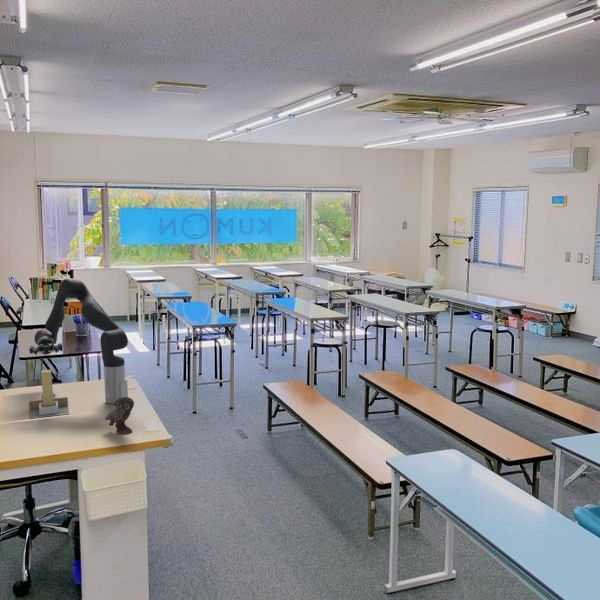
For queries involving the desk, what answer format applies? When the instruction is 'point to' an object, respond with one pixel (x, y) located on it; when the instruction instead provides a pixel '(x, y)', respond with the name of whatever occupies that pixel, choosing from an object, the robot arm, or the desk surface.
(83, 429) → the desk surface
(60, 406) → the plate
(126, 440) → the desk surface
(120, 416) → the figurine
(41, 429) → the desk surface
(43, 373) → the post
